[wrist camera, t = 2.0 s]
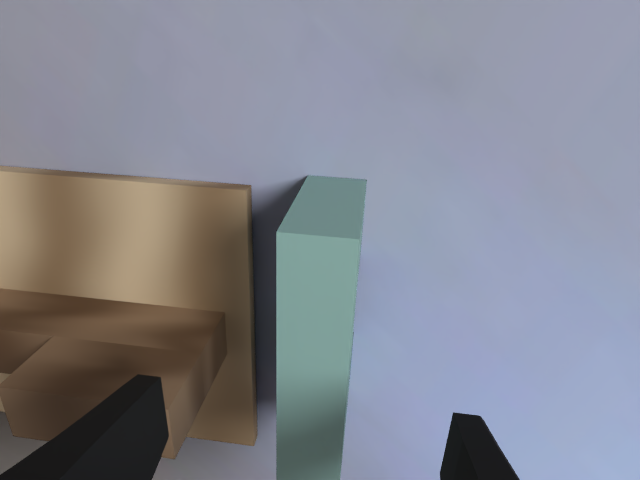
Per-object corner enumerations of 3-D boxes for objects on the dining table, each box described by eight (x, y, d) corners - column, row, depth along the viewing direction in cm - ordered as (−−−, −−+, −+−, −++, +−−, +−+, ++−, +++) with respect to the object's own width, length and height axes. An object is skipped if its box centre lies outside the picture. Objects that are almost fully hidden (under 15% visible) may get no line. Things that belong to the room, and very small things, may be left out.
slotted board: (250, 185, 15) (187, 254, 10) (257, 435, 20) (216, 565, 15) (-154, 153, 17) (-380, 200, 12) (-57, 393, 22) (-189, 497, 17)
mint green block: (366, 179, 15) (360, 239, 10) (348, 386, 19) (338, 497, 14) (308, 175, 15) (276, 232, 11) (302, 381, 19) (276, 488, 14)
